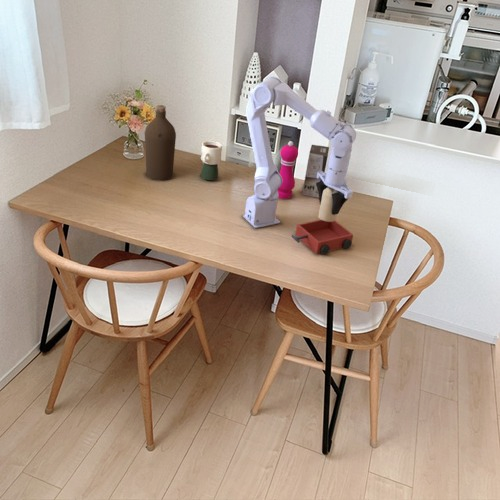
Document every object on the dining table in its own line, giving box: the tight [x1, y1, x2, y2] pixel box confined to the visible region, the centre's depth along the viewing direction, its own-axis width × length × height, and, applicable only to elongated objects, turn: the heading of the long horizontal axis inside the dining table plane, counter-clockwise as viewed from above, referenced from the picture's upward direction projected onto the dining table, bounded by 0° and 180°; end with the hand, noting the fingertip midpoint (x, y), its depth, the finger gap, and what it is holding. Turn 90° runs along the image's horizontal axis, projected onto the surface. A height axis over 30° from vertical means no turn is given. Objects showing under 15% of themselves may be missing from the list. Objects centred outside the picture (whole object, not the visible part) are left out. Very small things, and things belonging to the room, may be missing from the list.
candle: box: [318, 187, 338, 222], centre depth 160 cm, size 6×6×10 cm
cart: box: [294, 219, 354, 255], centre depth 163 cm, size 13×11×4 cm
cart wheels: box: [291, 234, 353, 255], centre depth 162 cm, size 17×13×3 cm
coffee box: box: [301, 144, 330, 199], centre depth 189 cm, size 9×6×16 cm
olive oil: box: [144, 104, 177, 181], centre depth 184 cm, size 11×11×25 cm
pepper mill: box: [278, 140, 299, 200], centre depth 183 cm, size 7×7×20 cm
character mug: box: [200, 140, 223, 181], centre depth 190 cm, size 11×7×13 cm, turn 158°
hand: (328, 209), depth 161 cm, fingers closed on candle, 5 cm apart
